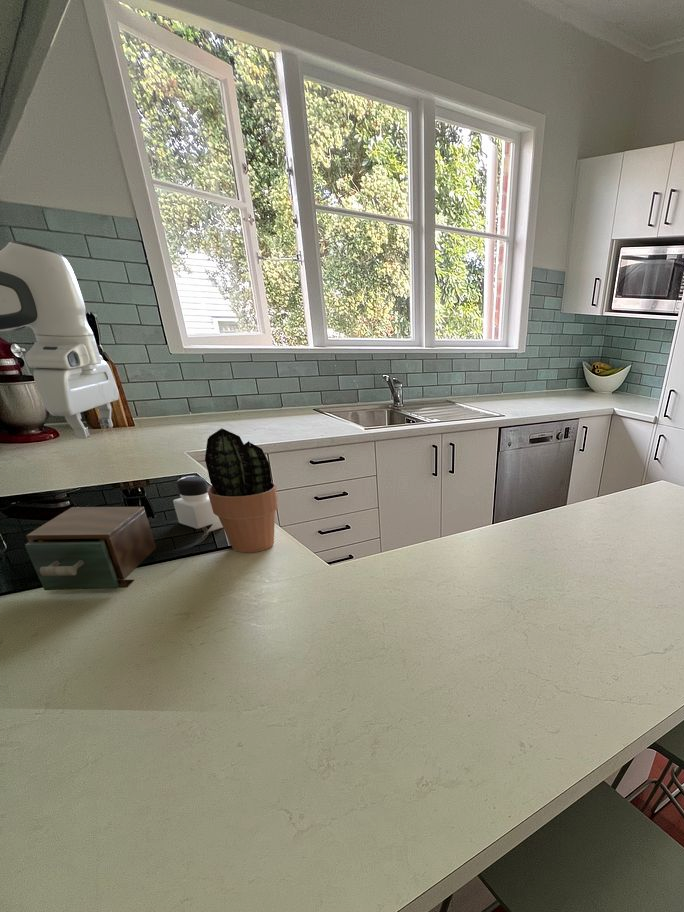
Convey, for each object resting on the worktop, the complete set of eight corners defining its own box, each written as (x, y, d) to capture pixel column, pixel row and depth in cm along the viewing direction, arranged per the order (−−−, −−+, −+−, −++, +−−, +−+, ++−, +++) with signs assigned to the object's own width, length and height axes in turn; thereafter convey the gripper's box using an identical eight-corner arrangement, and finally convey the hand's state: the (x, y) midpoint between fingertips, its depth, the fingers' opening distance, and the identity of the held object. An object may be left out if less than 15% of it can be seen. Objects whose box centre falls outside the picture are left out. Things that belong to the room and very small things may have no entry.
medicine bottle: (225, 527, 131) (214, 477, 125) (199, 535, 126) (186, 484, 119) (206, 521, 134) (194, 472, 128) (180, 529, 129) (166, 478, 122)
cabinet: (126, 587, 103) (108, 534, 97) (49, 589, 101) (25, 535, 95) (158, 555, 116) (144, 506, 110) (90, 556, 114) (71, 507, 109)
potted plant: (274, 558, 116) (252, 436, 103) (210, 556, 116) (180, 434, 103) (292, 535, 128) (274, 423, 115) (233, 533, 128) (209, 420, 114)
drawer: (105, 600, 96) (87, 554, 92) (29, 602, 95) (7, 555, 90) (148, 557, 112) (135, 516, 108) (83, 558, 111) (68, 516, 106)
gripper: (81, 348, 107) (104, 422, 114) (17, 357, 90) (49, 443, 97) (115, 349, 108) (135, 422, 115) (58, 358, 90) (87, 444, 98)
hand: (95, 432), depth 106 cm, fingers open, 8 cm apart
